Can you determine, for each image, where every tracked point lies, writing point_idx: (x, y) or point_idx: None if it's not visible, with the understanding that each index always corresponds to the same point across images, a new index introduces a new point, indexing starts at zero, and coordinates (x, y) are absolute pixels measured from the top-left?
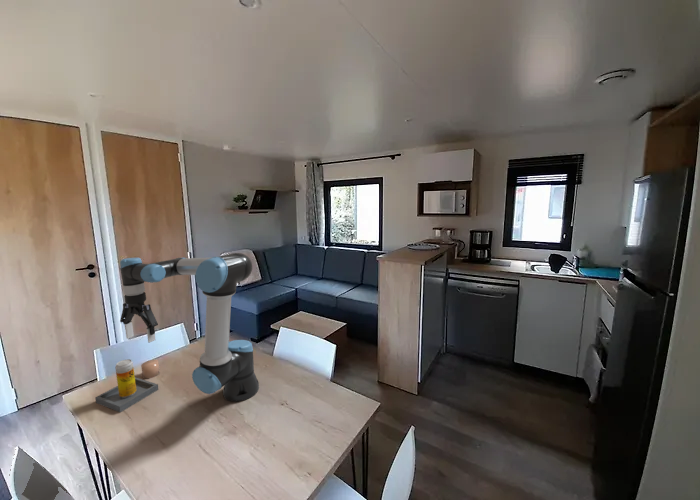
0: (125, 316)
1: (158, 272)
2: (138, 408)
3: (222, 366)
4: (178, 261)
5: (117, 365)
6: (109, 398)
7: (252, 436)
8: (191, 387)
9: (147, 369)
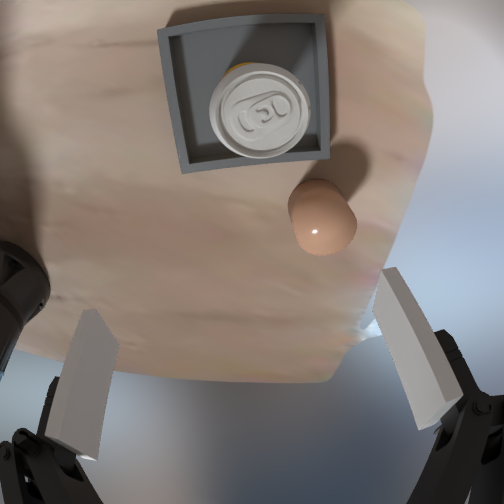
0: (490, 477)
1: None
2: (129, 76)
3: None
4: None
5: (271, 77)
6: (288, 43)
7: None
8: (106, 227)
9: (305, 204)
